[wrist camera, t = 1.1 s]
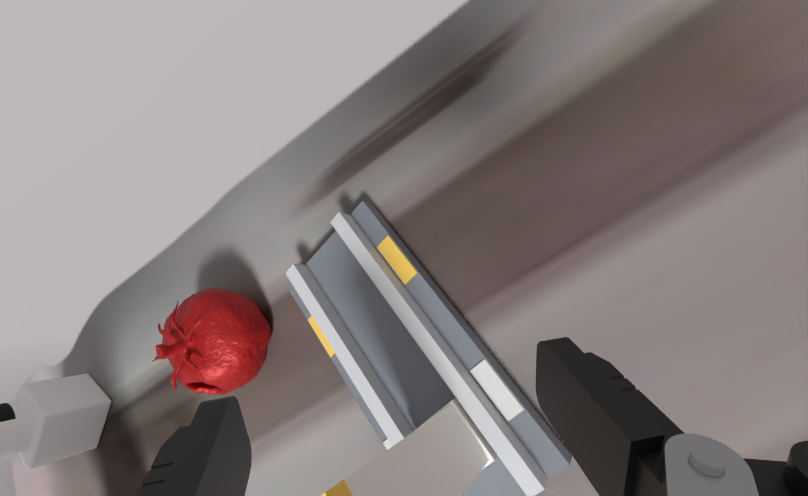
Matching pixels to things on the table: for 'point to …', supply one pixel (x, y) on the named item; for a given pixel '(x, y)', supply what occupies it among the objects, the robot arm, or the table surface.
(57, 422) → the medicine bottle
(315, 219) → the table surface
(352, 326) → the switch plate
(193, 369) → the red round fruit
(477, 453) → the switch tab
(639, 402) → the robot arm
